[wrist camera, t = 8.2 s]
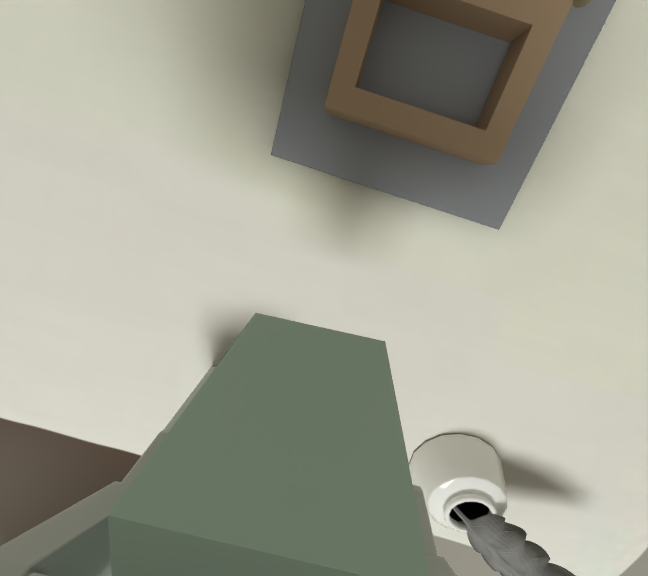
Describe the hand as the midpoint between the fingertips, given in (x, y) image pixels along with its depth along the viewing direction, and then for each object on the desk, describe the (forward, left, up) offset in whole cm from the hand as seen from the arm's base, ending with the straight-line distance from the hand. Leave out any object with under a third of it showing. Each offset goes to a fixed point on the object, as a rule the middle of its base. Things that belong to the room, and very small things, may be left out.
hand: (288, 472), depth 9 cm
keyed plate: (+2, +16, -19) cm, 25 cm away
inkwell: (+23, -16, -19) cm, 34 cm away
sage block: (0, 0, -2) cm, 2 cm away
